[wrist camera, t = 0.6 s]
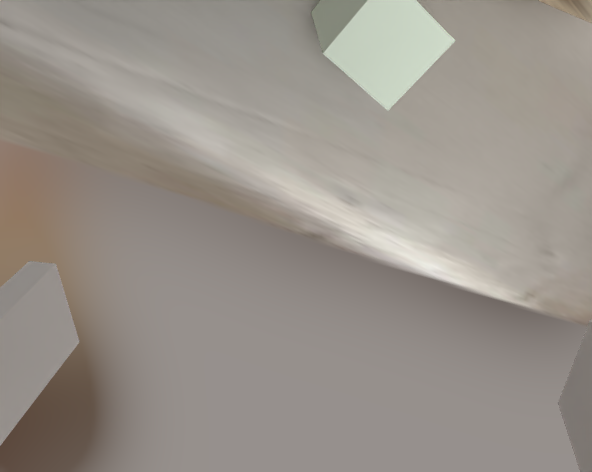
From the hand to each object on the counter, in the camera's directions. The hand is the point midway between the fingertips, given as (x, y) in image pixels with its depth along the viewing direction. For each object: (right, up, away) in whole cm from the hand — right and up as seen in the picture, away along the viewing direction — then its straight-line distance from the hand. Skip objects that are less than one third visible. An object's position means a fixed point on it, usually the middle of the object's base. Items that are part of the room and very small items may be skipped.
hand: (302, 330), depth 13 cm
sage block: (+4, +19, +23) cm, 30 cm away
